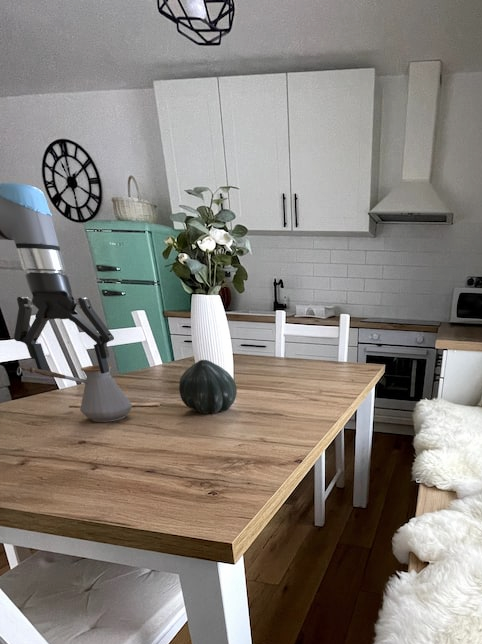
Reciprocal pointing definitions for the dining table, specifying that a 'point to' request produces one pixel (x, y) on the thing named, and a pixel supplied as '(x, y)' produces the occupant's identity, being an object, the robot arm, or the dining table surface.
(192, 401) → the squash
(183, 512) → the dining table surface
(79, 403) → the oak strip
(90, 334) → the robot arm
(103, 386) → the coffee pot
